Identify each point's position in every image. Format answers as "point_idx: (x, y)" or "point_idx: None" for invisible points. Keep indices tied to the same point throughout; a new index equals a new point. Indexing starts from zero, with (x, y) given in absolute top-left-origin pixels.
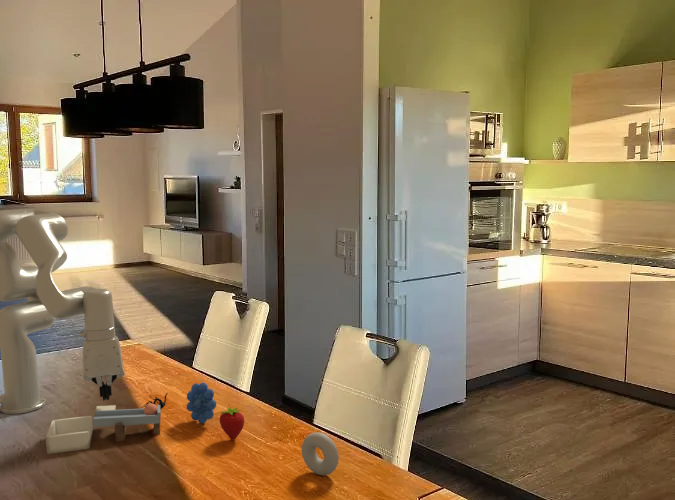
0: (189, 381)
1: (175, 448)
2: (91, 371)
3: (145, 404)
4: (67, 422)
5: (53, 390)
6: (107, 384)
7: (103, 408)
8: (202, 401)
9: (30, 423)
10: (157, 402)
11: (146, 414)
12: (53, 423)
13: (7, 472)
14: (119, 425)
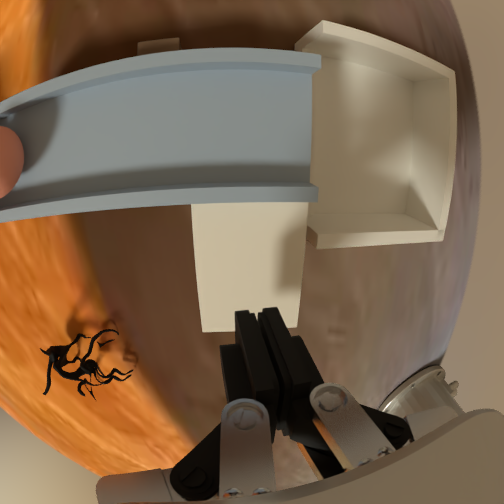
0: (86, 455)
1: (11, 13)
2: (488, 468)
3: (118, 380)
4: (399, 226)
5: None
6: (260, 408)
7: (262, 295)
8: None
9: (428, 322)
10: (84, 380)
11: (15, 133)
12: (444, 203)
13: (459, 32)
14: (156, 42)
